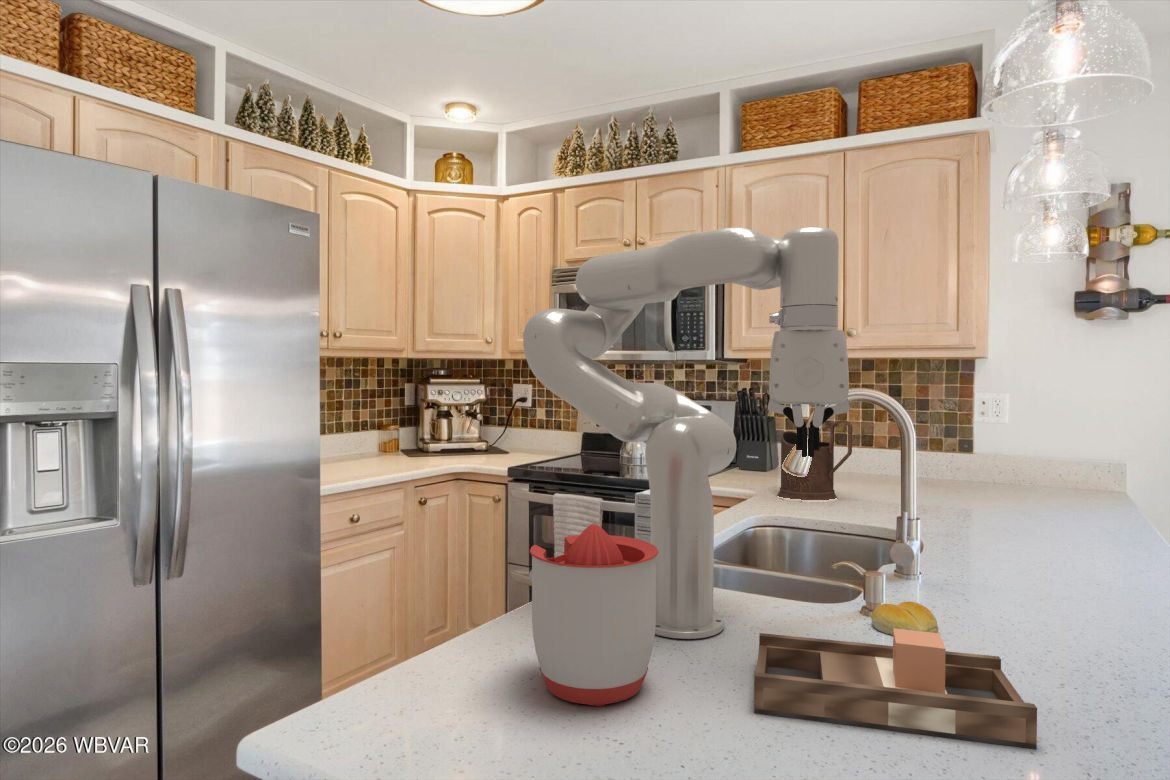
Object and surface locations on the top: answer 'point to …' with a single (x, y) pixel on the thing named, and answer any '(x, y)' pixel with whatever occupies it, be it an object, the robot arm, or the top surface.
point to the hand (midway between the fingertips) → (807, 455)
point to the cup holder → (813, 469)
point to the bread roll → (904, 618)
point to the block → (918, 660)
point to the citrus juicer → (594, 616)
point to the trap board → (889, 691)
